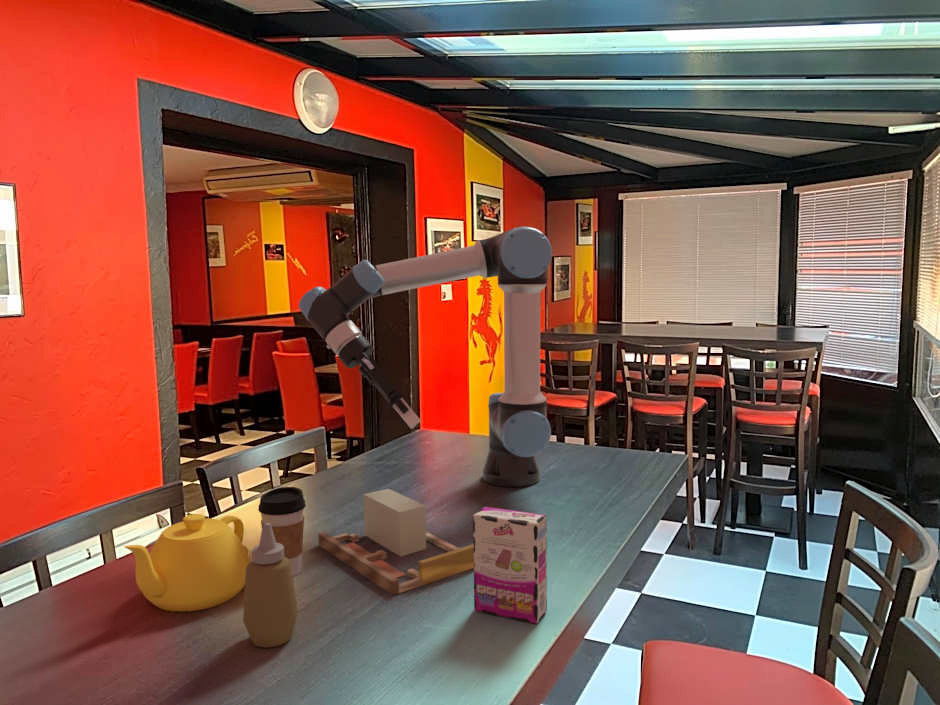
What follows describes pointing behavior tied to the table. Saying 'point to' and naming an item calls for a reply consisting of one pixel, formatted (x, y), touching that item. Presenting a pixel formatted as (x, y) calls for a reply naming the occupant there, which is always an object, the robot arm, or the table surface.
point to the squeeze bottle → (269, 593)
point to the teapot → (193, 564)
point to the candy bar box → (510, 564)
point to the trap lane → (388, 575)
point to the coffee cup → (285, 521)
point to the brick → (395, 521)
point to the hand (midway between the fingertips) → (415, 424)
